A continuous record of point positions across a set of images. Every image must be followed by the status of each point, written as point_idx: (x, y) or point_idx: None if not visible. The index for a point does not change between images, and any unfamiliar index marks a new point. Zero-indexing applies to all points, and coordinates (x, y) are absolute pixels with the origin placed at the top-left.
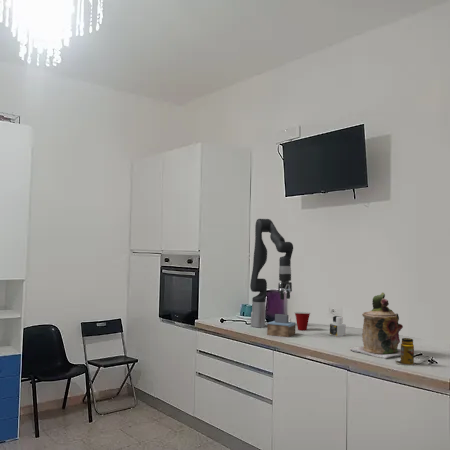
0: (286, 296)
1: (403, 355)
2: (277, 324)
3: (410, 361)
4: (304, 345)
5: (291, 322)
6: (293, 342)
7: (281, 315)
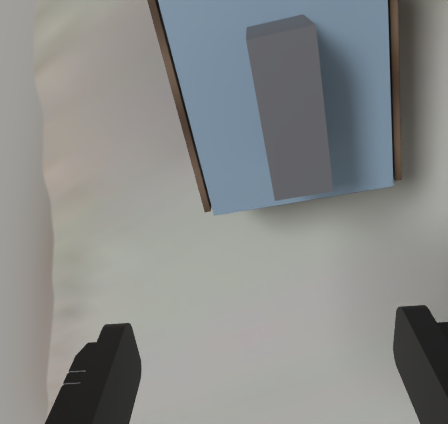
0: (413, 335)
1: None
2: (187, 104)
3: None
4: (72, 344)
5: (371, 160)
6: (88, 276)
7: (263, 134)
